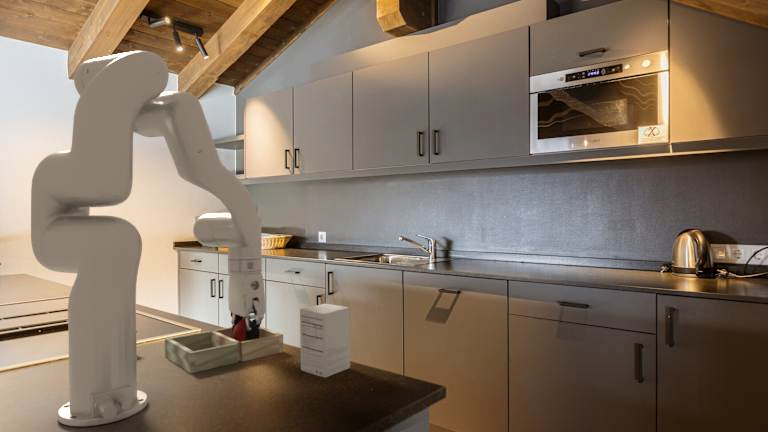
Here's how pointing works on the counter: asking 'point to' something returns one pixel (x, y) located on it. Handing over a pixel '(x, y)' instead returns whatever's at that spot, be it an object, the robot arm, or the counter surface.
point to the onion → (240, 330)
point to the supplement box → (325, 339)
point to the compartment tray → (219, 348)
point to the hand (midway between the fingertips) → (245, 343)
